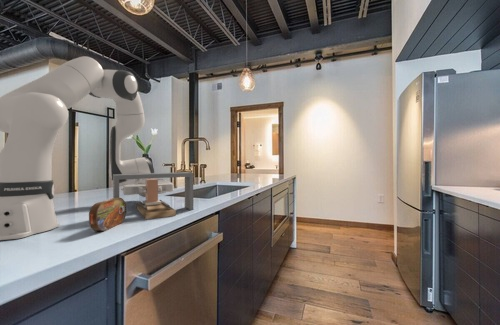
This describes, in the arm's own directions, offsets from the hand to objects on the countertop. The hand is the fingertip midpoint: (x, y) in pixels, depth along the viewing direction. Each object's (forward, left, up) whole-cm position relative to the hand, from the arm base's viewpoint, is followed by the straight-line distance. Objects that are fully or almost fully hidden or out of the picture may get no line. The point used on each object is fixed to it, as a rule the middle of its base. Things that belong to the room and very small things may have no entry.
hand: (152, 190), depth 97 cm
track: (0, -5, -8) cm, 10 cm away
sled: (0, +1, -6) cm, 6 cm away
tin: (-16, -20, -8) cm, 27 cm away
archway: (0, -7, -8) cm, 10 cm away
